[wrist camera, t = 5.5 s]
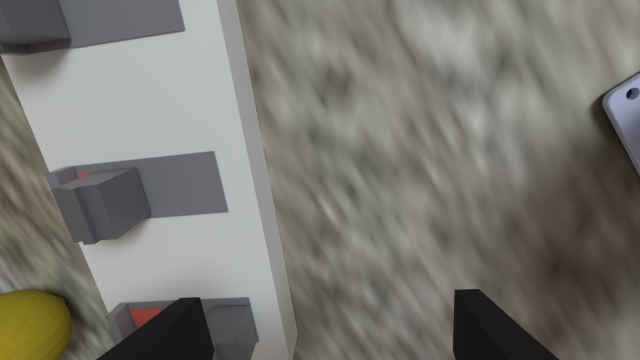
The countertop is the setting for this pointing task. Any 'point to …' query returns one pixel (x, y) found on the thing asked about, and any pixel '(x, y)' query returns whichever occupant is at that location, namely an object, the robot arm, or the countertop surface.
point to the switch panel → (164, 156)
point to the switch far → (231, 332)
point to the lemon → (33, 325)
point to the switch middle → (102, 204)
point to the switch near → (31, 22)
